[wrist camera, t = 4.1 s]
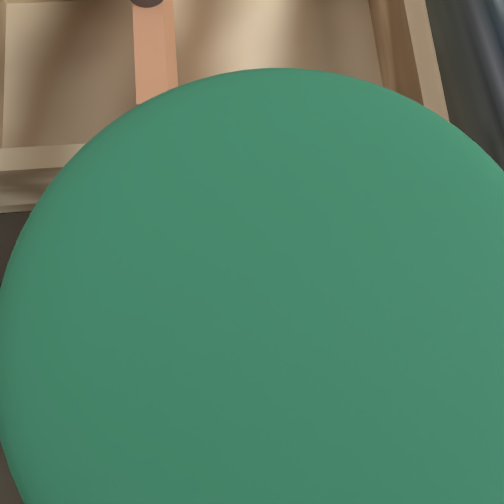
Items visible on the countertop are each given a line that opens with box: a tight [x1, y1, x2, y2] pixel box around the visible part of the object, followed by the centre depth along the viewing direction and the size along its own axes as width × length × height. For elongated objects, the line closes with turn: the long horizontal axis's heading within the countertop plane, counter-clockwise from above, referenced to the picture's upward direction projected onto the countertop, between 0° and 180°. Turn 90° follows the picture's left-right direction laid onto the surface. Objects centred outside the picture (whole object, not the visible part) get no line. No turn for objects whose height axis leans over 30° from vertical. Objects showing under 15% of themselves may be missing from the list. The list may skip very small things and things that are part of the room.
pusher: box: [130, 0, 178, 106], centre depth 21 cm, size 2×10×8 cm, turn 5°
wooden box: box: [0, 0, 449, 213], centre depth 23 cm, size 22×13×7 cm, turn 95°
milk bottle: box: [0, 68, 504, 504], centre depth 13 cm, size 8×8×20 cm
